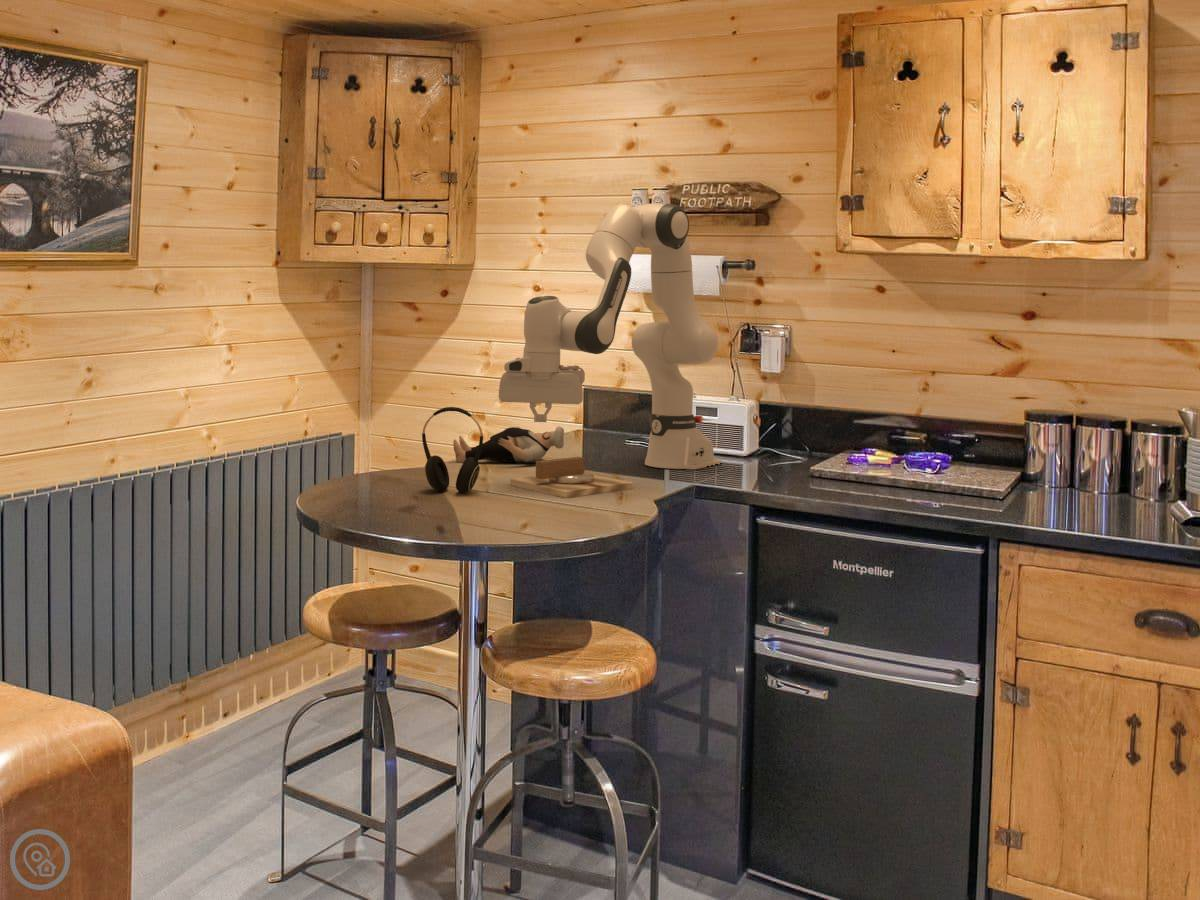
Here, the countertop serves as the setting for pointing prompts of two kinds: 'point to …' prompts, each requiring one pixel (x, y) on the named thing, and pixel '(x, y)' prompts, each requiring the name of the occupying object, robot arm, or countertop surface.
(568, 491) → the dial plate
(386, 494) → the countertop surface
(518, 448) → the figurine
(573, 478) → the dial
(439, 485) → the headphones
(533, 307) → the robot arm
